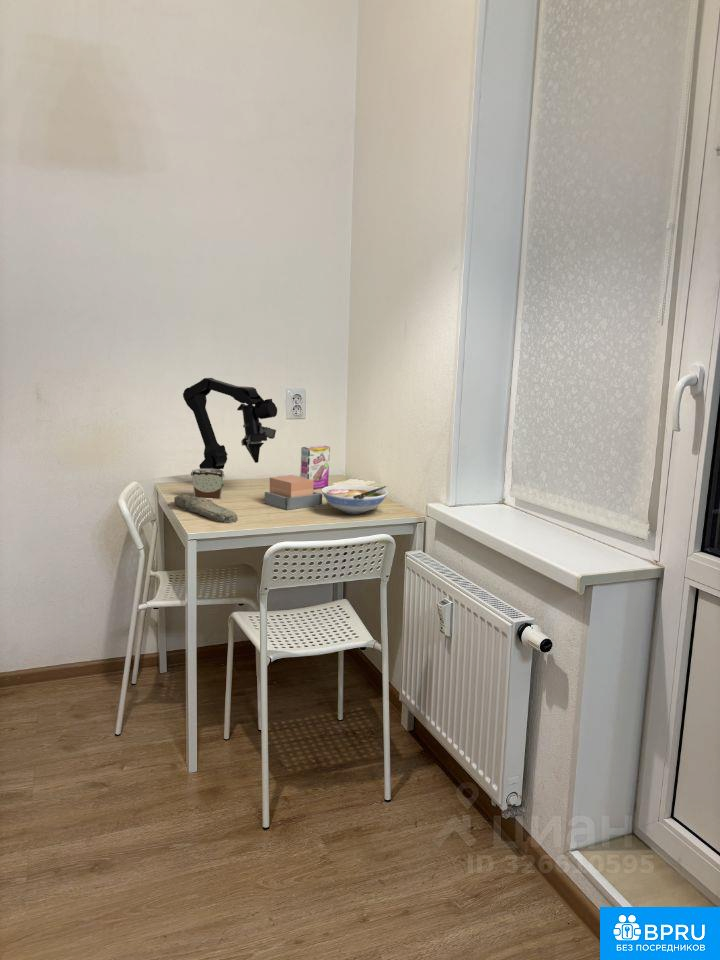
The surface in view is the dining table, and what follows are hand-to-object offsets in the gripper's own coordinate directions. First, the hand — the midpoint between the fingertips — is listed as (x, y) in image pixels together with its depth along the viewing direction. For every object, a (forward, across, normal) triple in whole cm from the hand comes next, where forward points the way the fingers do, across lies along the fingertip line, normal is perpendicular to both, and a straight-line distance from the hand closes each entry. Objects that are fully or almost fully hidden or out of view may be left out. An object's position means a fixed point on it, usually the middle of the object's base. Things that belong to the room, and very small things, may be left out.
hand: (256, 462), depth 289 cm
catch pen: (+16, -18, -7) cm, 26 cm away
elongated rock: (+16, -25, +25) cm, 39 cm away
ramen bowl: (+22, -33, -24) cm, 46 cm away
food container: (+11, -2, +19) cm, 22 cm away
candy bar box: (+12, +9, -23) cm, 28 cm away
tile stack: (+16, -17, -7) cm, 24 cm away
